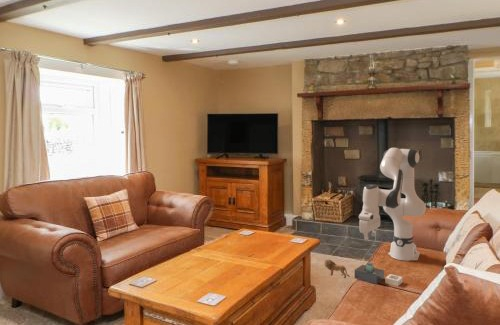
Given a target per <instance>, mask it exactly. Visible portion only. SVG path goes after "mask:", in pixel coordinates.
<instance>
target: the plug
mask: <svg viewBox="0 0 500 325" xmlns="http://www.w3.org/2000/svg"><path fill="white" fill-rule="evenodd" d="M365 266H366V271H369V272H372V271H373V268H374V264H373V262H369V261H367V263H366V265H365Z"/></svg>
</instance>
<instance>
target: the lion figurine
mask: <svg viewBox="0 0 500 325" xmlns="http://www.w3.org/2000/svg"><path fill="white" fill-rule="evenodd" d="M323 265H324V267H326V268H327V269H328V270H329V271H330V274H329V276H333V275H334V271H336V272H339V271H340V273H341V274H340V276H343V278H344V279H346V278H347V277H351V276H350V275H349V274H348V272H347V269H346V267H345V266H344V265H343V264H336V262H334V261H332V260H331V259H325V260H324V264H323Z"/></svg>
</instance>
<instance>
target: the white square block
mask: <svg viewBox="0 0 500 325" xmlns="http://www.w3.org/2000/svg"><path fill="white" fill-rule="evenodd" d="M403 279H404V278H403V276H400V275H396V274H392V273H390V274H388V275H386V277H384V280H385V281H384V283H385V284H388V285H390V286H395V287H399V286H400V285H401V284H402V283H403Z"/></svg>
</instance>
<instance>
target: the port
mask: <svg viewBox="0 0 500 325" xmlns="http://www.w3.org/2000/svg"><path fill="white" fill-rule="evenodd" d="M354 279H356V280H360V281H363V282H367V283H371V284H375V285H378V284H379V283H380V282H381V281H383V280H385V270H384V269H382V268H381V269H380V268H376V267H373V271H372V272H369V271H366V265H364V264H361V265H360V266H358V267H356V268H355V269H354Z"/></svg>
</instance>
